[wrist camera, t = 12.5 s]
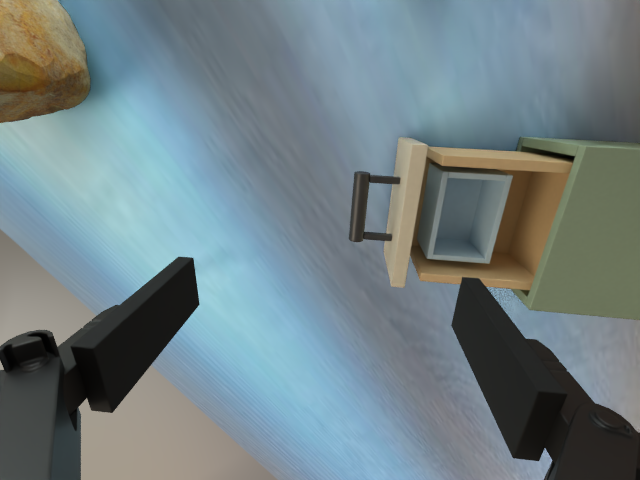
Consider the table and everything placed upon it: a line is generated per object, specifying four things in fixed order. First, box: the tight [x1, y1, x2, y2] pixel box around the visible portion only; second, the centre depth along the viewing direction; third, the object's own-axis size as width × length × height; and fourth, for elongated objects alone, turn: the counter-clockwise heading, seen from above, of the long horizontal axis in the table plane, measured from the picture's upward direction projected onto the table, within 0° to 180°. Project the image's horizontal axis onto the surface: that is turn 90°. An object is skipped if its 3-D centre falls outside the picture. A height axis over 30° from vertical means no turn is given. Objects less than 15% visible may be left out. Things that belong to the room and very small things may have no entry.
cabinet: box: [511, 137, 640, 320], centre depth 29 cm, size 15×14×10 cm
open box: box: [417, 163, 513, 264], centre depth 30 cm, size 8×6×5 cm
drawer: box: [349, 137, 574, 290], centre depth 30 cm, size 18×12×8 cm
